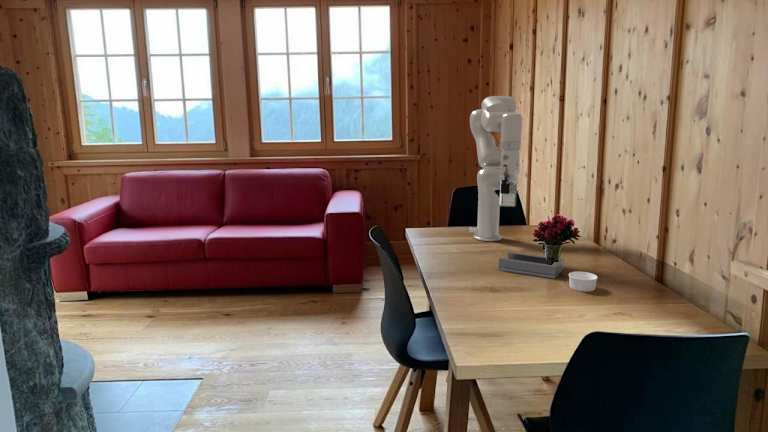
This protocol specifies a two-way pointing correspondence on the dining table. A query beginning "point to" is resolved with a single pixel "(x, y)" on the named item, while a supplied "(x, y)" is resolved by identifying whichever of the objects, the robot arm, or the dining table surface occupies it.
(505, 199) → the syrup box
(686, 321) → the dining table surface
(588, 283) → the ramekin
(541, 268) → the track
